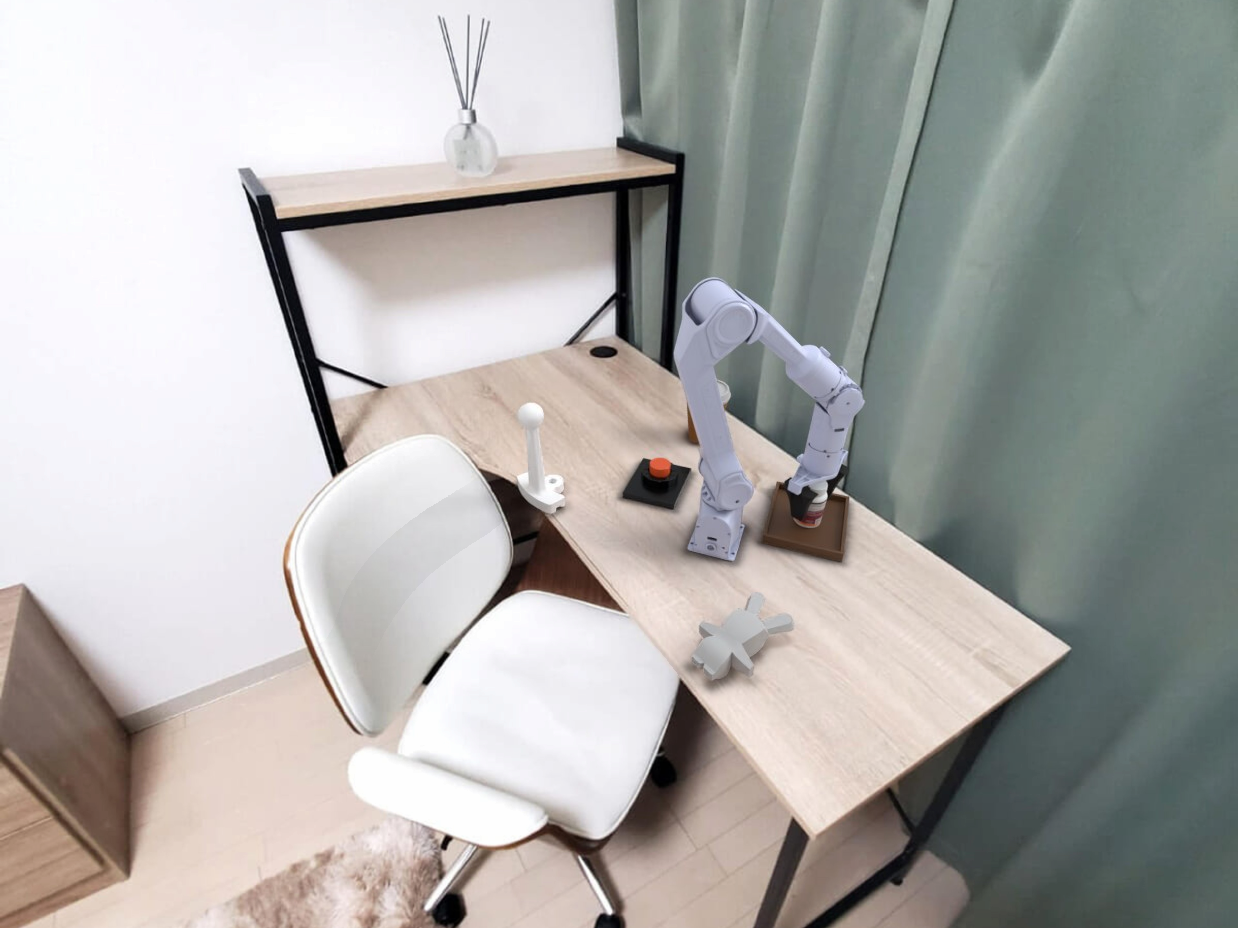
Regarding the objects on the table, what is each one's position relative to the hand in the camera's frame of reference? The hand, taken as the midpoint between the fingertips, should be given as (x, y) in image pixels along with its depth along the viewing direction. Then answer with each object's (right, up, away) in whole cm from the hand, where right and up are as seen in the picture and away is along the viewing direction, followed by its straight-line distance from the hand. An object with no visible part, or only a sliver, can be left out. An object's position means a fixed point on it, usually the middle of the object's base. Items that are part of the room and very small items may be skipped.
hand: (809, 508), depth 105 cm
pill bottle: (0, -2, +2) cm, 3 cm away
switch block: (-26, +4, +11) cm, 28 cm away
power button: (-26, +6, +10) cm, 28 cm away
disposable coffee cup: (-15, +13, +25) cm, 32 cm away
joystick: (-47, +2, +8) cm, 48 cm away
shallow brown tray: (0, -3, +2) cm, 3 cm away
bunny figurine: (-16, -18, -20) cm, 32 cm away
